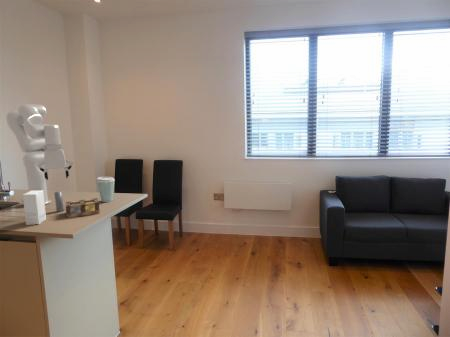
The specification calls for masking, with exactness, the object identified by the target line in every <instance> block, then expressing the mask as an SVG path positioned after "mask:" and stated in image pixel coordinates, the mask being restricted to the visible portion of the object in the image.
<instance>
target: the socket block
mask: <svg viewBox="0 0 450 337" xmlns="http://www.w3.org/2000/svg"><path fill="white" fill-rule="evenodd" d="M100 211H101V210H100V202H99V199H98V198H97V197H96V198H89V199H81V200H72V201H71V200H70V201H66V202H65V212H66V214H65V215H66V218H67V219H69V218H76V217H77V218H78V217H83V216H89V215H90V216H91V215H97V214H98V215H99V214H100V213H101V212H100Z"/></svg>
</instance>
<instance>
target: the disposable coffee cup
mask: <svg viewBox="0 0 450 337" xmlns="http://www.w3.org/2000/svg"><path fill="white" fill-rule="evenodd" d="M115 182H116V181H115V178H114V177H113V176H98V177H97V178H96V184H97V188H98V192H99V197H100V200H101V202H102V203H110V202H112V201H113V199H114V191H115V190H114V189H115Z"/></svg>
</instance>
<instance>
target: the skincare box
mask: <svg viewBox="0 0 450 337" xmlns="http://www.w3.org/2000/svg"><path fill="white" fill-rule="evenodd" d="M22 199H23V202H22V203H23V210H24V217H25V218H24V219H25V225H26V226H32V225H33V226H34V225H35V224H38V225H40V224H42V223H43V222H45V221H46V220H47V215H46V214H47V213H46V212H47V211H46V206H45V205H46V204H45V203H44V193H43V190H35V191H29V190H28V191H27V192H25V193H23V194H22Z"/></svg>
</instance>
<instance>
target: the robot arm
mask: <svg viewBox="0 0 450 337" xmlns="http://www.w3.org/2000/svg"><path fill="white" fill-rule="evenodd" d="M47 115H48V112H47V109H46V107H45V106H44V105H43V104H32V103H31V104H29V103H27V104H26V103H25V104H21V105H19V107H18V108H17V110H12V111H9V112H7V113H6V117H5V118H6V123H7V126H8V127H9V129H10V130H11V131H12V133H13V134H14V136H15V138H16V140H17V142H18V145H19V148H20V149H21V151H22V152H23V154H24V155H23V158H22V161H23V166H24V168H25V171H26V172H25V173H26V180H27V186H28V187H27V188H28V192H29V191H35V190H43V193H44V203H45V205H48V204H51V203H52V200H51V199H50V198H49V197H48V189H47V188H48V187H47V181H48V180H49V173H48V170H57V169H64V170H65V177H66V178H65V179H68V178H69V177H70V175H69V172H70V169H71V168H72V166H73V165H74V162H73V161H70V160H68V159H66V155H65V151H64V149H63V148H62V140H61V128H60V126H59V124H43V122H44V120H45V119H46V118H47ZM67 164H69V165H68V167H67ZM44 168H45V169H44ZM20 200H21V201H20V202H21V203H24V202H23V198H21V199H20Z"/></svg>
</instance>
